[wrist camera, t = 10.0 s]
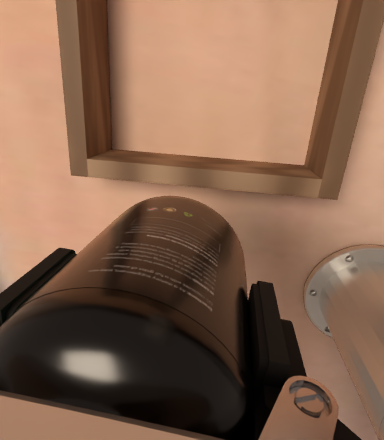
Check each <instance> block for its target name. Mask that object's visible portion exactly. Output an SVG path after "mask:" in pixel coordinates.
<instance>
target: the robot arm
mask: <svg viewBox="0 0 384 440" xmlns="http://www.w3.org/2000/svg"><path fill="white" fill-rule="evenodd" d="M76 255H77V254H75V251H74V250H71V249H65V248H58V249H57V250H56V251H54V252H53V253H52V254H50V255H49V256H48V257H47V258H45V259H44V260H43V261H41V262H40V263H39V264H38V265H36V266H35V267H34V268H32V269H31V270H30V271H29V272H27V273H26V274H25V275H24V276H22V277H21V278H20V279H18V280H17V281H16V282H15V283H13V284H12V285H11V286H9V287H8V288H7V289H6V290H4V291H3V292H2V293H1V294H0V326H1V325H2V324H3V323H4V322H5V321H6V320H7V319H8V318H9V317H10V316H11V315H12V314H13V313H14V312H15V311H16V310H17V309H18V308H19V307H20V306H21V305H22V304H24V303H25V302H26V301H27V300H28V299H29V298H30V297H31V296H32V295H33V294H34V293H36V292H37V291H38V290H39V289H40V288H41V287H42V286H43V285H44V284H45V283H46V282H48V281H49V280H50V279H51V278H52V277H53V276H54V275H55V274H56V273H57V272H59V271H60V270H61V269H62V268H63V267H64V266H65V265H66V264H67V263H68V262H69V261H71V260H72V259H73V258H74V257H75V256H76ZM303 300H304V306H305V309H306V312H307V314H308V316H309V318H310V320H311V321H312V323H313V324H314V325H315V326H316V327H317V328H318V329H319V330H320V331H322V332H323V333H324V334H326V335H328V336H330V337H332V338H334V341H335V343H336V345H337V347H338V349H339V352H340V354H341V356H342V358H343V360H344V363H345V365H346V367H347V369H348V372H349V374H350V376H351V378H352V380H353V383H354V385H355V387H356V389H357V391H358V394H359V396H360V398H361V400H362V402H363V405H364V407H365V409H366V411H367V413H368V416H369V418H370V420H371V422H372V425H373V427H374V429H375V431H376V433H377V436H378V438H379V440H384V246H379V245H358V246H353V247H349V248H345V249H343V250H340V251H338V252H335V253H334V254H332V255H330V256H328V257H327V258H325V259H324V260H323V261H322V262H320V263H319V264H318V265H317V266H316V267H315V269H314V270H313V271H312V272H311V274H310V275H309V277H308V279H307V281H306V284H305V287H304V293H303ZM248 311H249V326H250V340H251V354H252V369H253V383H254V398H255V440H361V439H360V438H359V437H358V436H357V435H356V434H355V433H353V432H352V431H351V430H350V429H349V428H348V427H347V426H345V425H344V424H343V423H342V422H341V421H340V420H339V419H337V418H338V405H337V402H336V399H335V398H334V396H333V395H332V393H331V392H330V391H329V390H328V389H327V388H326V387H325V386H324V385H322V384H321V383H319V382H318V381H316V380H314V379H312V378H309V377H307V376H306V372H305V368H304V365H303V361H302V357H301V354H300V350H299V346H298V342H297V339H296V335H295V331H294V328H293V324H292V322H291V321H288V320H282V319H280V314H279V310H278V305H277V300H276V296H275V291H274V287H273V283H268V282H262V281H258V282H257V284H252V285H251V290H250V294H249V299H248ZM0 440H224V439H220V438H216V437H212V436H208V435H204V434H199V433H195V432H190V431H186V430H181V429H177V428H172V427H167V426H163V425H158V424H154V423H149V422H145V421H140V420H136V419H131V418H127V417H122V416H118V415H113V414H108V413H104V412H99V411H95V410H90V409H85V408H81V407H76V406H71V405H67V404H62V403H57V402H53V401H48V400H43V399H39V398H34V397H29V396H25V395H20V394H15V393H10V392H5V391H1V390H0Z"/></svg>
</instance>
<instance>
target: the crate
mask: <svg viewBox="0 0 384 440" xmlns="http://www.w3.org/2000/svg"><path fill="white" fill-rule="evenodd" d="M56 11H57V22H58V34H59V45H60V56H61V68H62V79H63V90H64V102H65V113H66V124H67V136H68V147H69V158H70V170H71V175H73V176H84V177H94V178H105V179H116V180H127V181H138V182H149V183H159V184H170V185H181V186H192V187H203V188H214V189H224V190H235V191H246V192H257V193H268V194H279V195H290V196H300V197H311V198H322V199H333V200H337V199H338V195H339V192H340V188H341V184H342V180H343V176H344V172H345V168H346V164H347V161H348V157H349V153H350V149H351V145H352V141H353V137H354V133H355V129H356V126H357V122H358V118H359V114H360V110H361V106H362V102H363V98H364V94H365V91H366V87H367V83H368V79H369V75H370V71H371V67H372V63H373V60H374V56H375V52H376V48H377V44H378V40H379V36H380V32H381V28H382V25H383V21H384V0H338V4H337V9H336V14H335V19H334V24H333V29H332V34H331V39H330V43H329V48H328V53H327V58H326V63H325V68H324V73H323V77H322V82H321V87H320V92H319V97H318V102H317V107H316V112H315V116H314V121H313V126H312V131H311V136H310V141H309V146H308V151H307V155H306V160H305V165H292V164H280V163H268V162H256V161H244V160H232V159H220V158H208V157H197V156H185V155H173V154H161V153H149V152H137V151H125V150H113V149H112V139H111V110H110V82H109V54H108V25H107V0H56Z"/></svg>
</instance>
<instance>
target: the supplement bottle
mask: <svg viewBox="0 0 384 440" xmlns="http://www.w3.org/2000/svg"><path fill="white" fill-rule="evenodd" d="M0 390H1V391H5V392H10V393H15V394H20V395H25V396H29V397H34V398H39V399H43V400H48V401H53V402H57V403H62V404H67V405H71V406H76V407H81V408H85V409H90V410H95V411H99V412H104V413H108V414H113V415H118V416H122V417H127V418H131V419H136V420H140V421H145V422H149V423H154V424H158V425H163V426H167V427H172V428H177V429H181V430H186V431H190V432H195V433H199V434H204V435H208V436H212V437H216V438H220V439H224V440H255V398H254V383H253V369H252V354H251V340H250V326H249V311H248V297H247V283H246V270H245V261H244V254H243V250H242V247H241V244H240V241H239V239H238V237H237V235H236V233H235V232H234V230H233V228H232V227H231V226H230V225H229V223H228V222H227V221H226V220H225V219H224V218H223V217H222V216H221V215H220V214H218V213H217V212H216V211H214V210H213V209H212V208H210V207H208V206H207V205H205V204H202V203H200V202H198V201H195V200H192V199H189V198H185V197H178V196H161V197H154V198H150V199H147V200H144V201H142V202H139V203H137V204H135V205H134V206H132V207H131V208H129V209H128V210H126V211H125V212H124V213H123V214H121V215H120V216H119V217H118V218H117V219H115V220H114V221H113V222H112V223H111V224H110V225H109V226H108V227H107V228H106V229H105V230H103V231H102V232H101V233H100V234H99V235H98V236H97V237H96V238H95V239H94V240H92V241H91V242H90V243H89V244H88V245H87V246H86V247H85V248H84V249H83V250H82V251H80V252H79V253H78V254H77V255H76V256H75V257H74V258H73V259H72V260H71V261H69V262H68V263H67V264H66V265H65V266H64V267H63V268H62V269H61V270H60V271H59V272H57V273H56V274H55V275H54V276H53V277H52V278H51V279H50V280H49V281H48V282H46V283H45V284H44V285H43V286H42V287H41V288H40V289H39V290H38V291H37V292H36V293H34V294H33V295H32V296H31V297H30V298H29V299H28V300H27V301H26V302H25V303H24V304H22V305H21V306H20V307H19V308H18V309H17V310H16V311H15V312H14V313H13V314H12V315H11V316H10V317H9V318H8V319H7V320H6V321H5V322H4V323H3V324H2V325H1V326H0Z"/></svg>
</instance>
